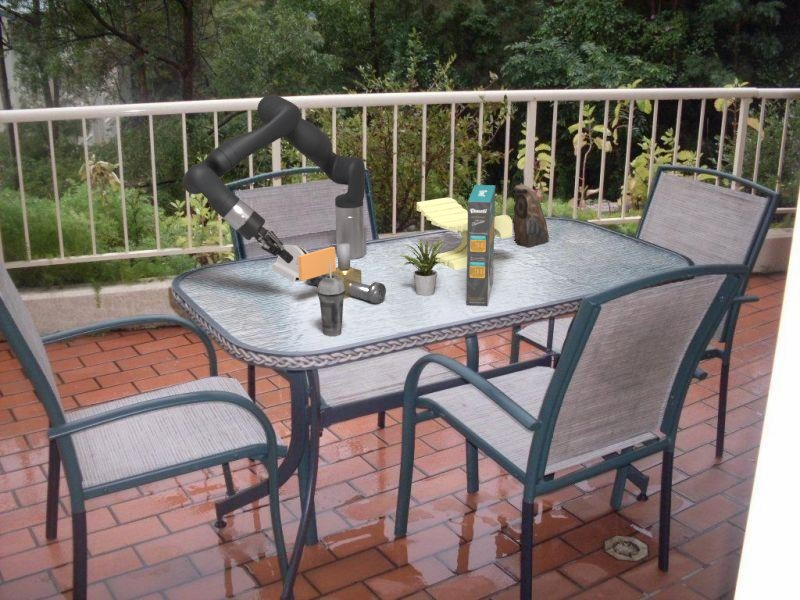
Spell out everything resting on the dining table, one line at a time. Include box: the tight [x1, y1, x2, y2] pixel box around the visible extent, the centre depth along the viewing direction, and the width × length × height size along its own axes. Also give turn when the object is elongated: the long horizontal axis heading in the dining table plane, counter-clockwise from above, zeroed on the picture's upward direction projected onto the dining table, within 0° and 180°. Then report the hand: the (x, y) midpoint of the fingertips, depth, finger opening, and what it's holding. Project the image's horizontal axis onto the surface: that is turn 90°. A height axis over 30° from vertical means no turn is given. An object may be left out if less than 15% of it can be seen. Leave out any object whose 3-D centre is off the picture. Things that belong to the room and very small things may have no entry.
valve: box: [305, 266, 387, 305], centre depth 271 cm, size 7×28×8 cm, turn 48°
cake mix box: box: [465, 184, 496, 307], centre depth 267 cm, size 22×6×30 cm, turn 171°
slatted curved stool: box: [416, 197, 513, 270], centre depth 301 cm, size 30×16×18 cm, turn 34°
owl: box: [512, 182, 550, 249], centre depth 321 cm, size 13×13×20 cm
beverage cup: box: [316, 261, 345, 337], centre depth 239 cm, size 7×7×20 cm
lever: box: [298, 243, 351, 282], centre depth 264 cm, size 19×4×7 cm, turn 138°
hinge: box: [271, 244, 310, 283], centre depth 291 cm, size 17×5×10 cm, turn 33°
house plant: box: [399, 238, 445, 297], centre depth 271 cm, size 14×14×16 cm
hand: (291, 260), depth 260 cm, fingers closed
